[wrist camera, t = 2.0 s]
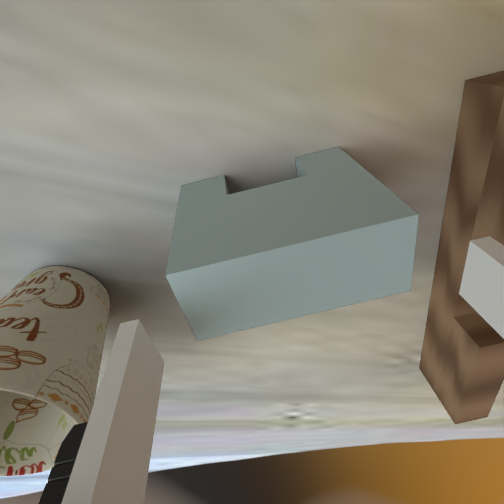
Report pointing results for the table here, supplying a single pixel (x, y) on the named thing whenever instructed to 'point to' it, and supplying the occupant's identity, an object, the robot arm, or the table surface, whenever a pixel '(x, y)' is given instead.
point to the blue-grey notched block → (288, 246)
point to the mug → (48, 363)
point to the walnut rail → (454, 257)
